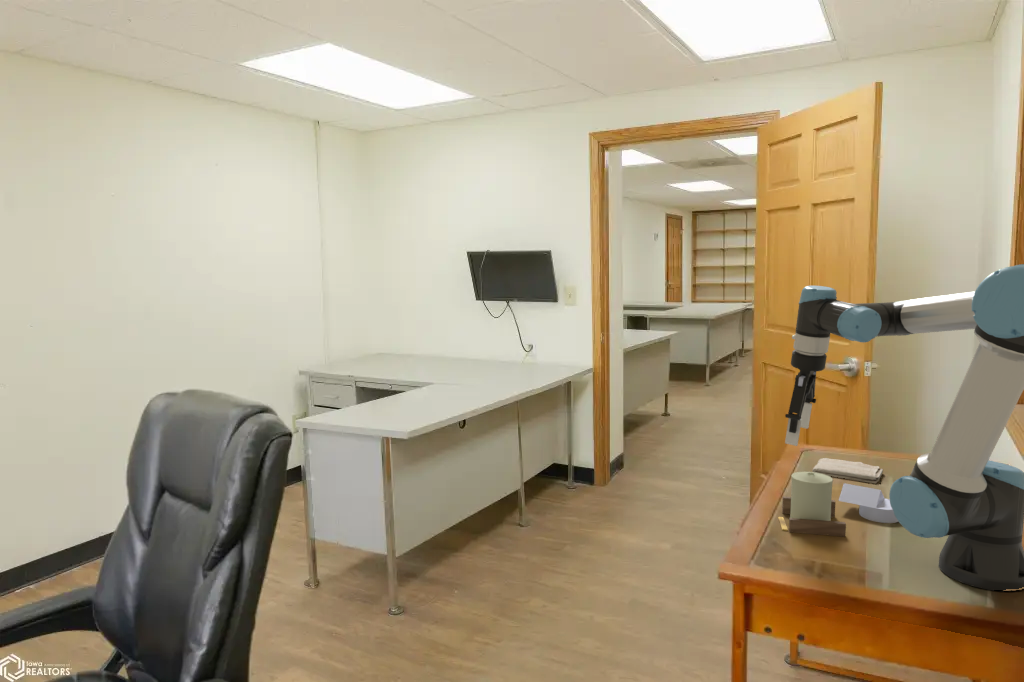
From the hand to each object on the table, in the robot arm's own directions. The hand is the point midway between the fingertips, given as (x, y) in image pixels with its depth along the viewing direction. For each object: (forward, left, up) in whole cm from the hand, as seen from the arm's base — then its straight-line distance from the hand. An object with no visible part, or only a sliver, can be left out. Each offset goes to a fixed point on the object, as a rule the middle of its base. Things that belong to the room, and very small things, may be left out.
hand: (797, 435), depth 167 cm
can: (-4, -3, -21) cm, 21 cm away
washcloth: (+40, -20, -21) cm, 50 cm away
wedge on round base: (+6, -19, -21) cm, 29 cm away
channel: (-4, -4, -21) cm, 21 cm away
